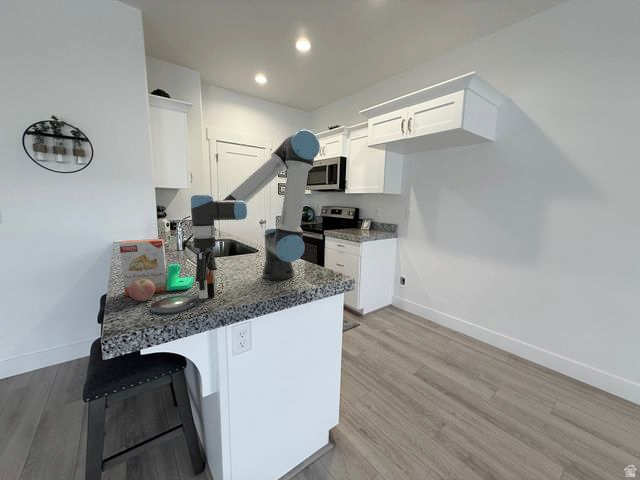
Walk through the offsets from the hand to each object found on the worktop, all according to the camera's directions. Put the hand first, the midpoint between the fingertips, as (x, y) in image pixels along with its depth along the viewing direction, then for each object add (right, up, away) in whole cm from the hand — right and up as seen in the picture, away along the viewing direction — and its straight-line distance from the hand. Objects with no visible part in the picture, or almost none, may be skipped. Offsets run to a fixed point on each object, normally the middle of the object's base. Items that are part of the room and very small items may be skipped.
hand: (208, 291), depth 102 cm
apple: (-21, -2, -5) cm, 22 cm away
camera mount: (-15, 0, +10) cm, 18 cm away
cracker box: (-26, -1, +4) cm, 26 cm away
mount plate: (-7, -3, -10) cm, 13 cm away
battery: (0, -1, 0) cm, 2 cm away
